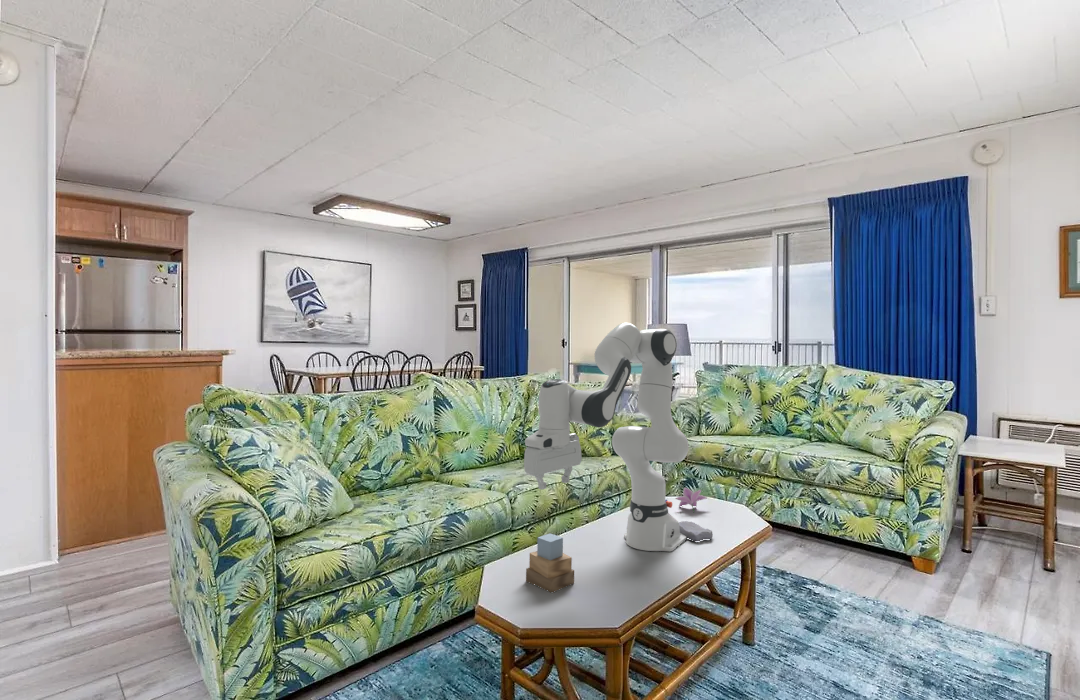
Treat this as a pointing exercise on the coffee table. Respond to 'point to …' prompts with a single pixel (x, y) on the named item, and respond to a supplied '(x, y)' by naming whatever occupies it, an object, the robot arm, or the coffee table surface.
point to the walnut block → (549, 580)
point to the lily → (690, 497)
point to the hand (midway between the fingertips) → (554, 485)
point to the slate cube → (550, 546)
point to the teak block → (550, 565)
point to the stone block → (694, 531)
